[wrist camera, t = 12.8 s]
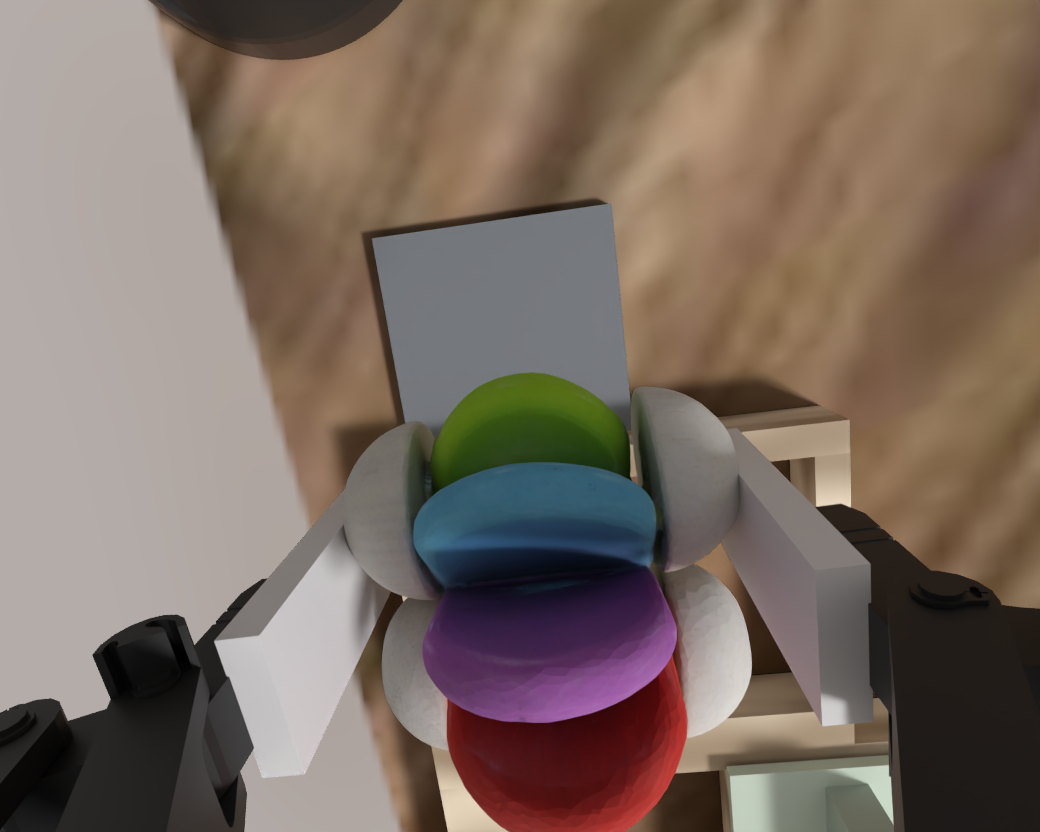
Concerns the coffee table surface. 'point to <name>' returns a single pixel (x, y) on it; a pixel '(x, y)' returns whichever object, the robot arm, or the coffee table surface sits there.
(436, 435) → the mat
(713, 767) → the board
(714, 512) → the rainbow toy vehicle
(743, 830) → the lid
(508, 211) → the coffee table surface
